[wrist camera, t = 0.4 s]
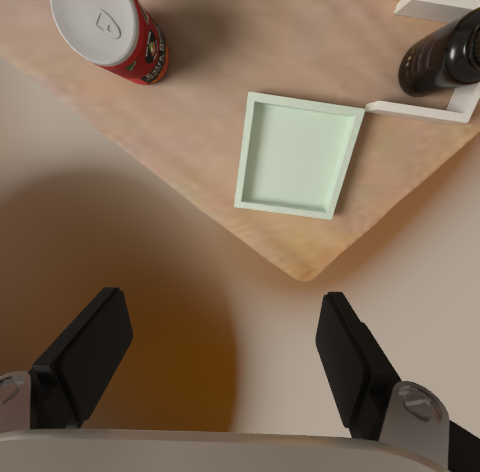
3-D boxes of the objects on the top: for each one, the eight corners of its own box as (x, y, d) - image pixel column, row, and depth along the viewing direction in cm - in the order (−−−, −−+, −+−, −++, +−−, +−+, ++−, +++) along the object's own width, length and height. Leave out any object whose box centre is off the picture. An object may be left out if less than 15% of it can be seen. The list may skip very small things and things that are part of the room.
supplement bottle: (459, 43, 30) (581, -9, 19) (432, 102, 33) (526, 85, 22) (410, 31, 30) (506, -29, 19) (387, 92, 33) (459, 70, 22)
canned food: (163, 95, 33) (128, 78, 23) (108, 71, 32) (46, 43, 22) (177, 32, 30) (144, -19, 20) (116, 4, 29) (50, -65, 19)
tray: (248, 94, 33) (248, 91, 31) (357, 110, 34) (365, 109, 31) (234, 202, 39) (234, 206, 37) (326, 214, 40) (331, 219, 38)
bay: (397, 3, 29) (416, -13, 26) (492, 19, 29) (523, 5, 26) (364, 111, 34) (376, 109, 30) (446, 124, 34) (467, 122, 31)
